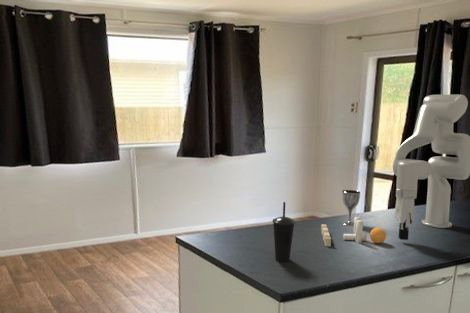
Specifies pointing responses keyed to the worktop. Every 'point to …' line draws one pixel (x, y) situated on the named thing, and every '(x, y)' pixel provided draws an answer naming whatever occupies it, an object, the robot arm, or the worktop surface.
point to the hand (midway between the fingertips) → (403, 238)
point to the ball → (377, 235)
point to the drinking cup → (283, 236)
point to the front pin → (353, 237)
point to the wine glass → (350, 203)
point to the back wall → (326, 235)
